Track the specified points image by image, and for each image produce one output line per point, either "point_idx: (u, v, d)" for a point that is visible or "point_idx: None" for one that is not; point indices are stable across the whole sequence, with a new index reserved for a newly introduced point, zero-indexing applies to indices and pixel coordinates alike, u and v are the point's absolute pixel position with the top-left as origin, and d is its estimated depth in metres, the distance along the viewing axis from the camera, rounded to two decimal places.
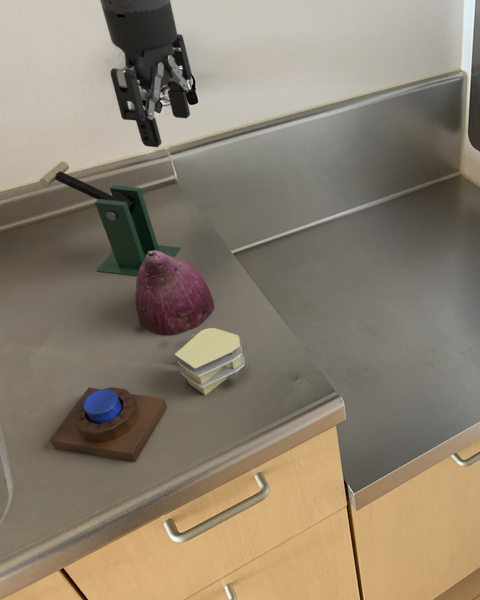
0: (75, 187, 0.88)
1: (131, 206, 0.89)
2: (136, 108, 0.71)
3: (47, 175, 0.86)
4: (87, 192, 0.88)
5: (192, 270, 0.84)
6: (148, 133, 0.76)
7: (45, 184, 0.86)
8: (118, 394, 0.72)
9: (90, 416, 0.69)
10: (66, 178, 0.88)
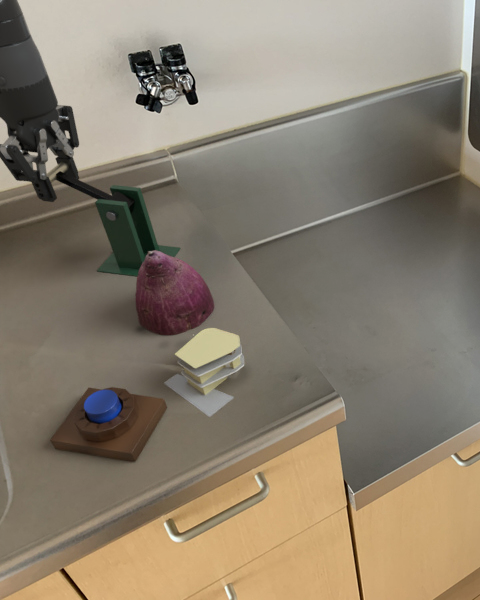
0: (75, 187, 0.88)
1: (131, 206, 0.89)
2: (25, 174, 0.81)
3: (47, 175, 0.86)
4: (87, 192, 0.88)
5: (192, 270, 0.84)
6: (42, 191, 0.85)
7: None
8: (118, 394, 0.72)
9: (90, 416, 0.69)
10: (66, 178, 0.88)
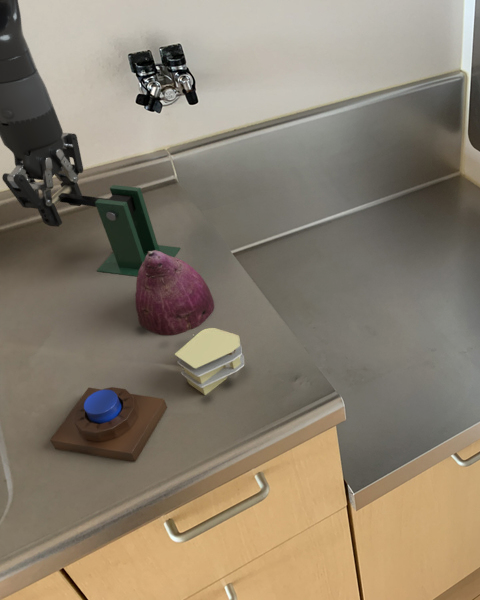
0: (77, 202, 0.90)
1: (129, 202, 0.89)
2: (32, 202, 0.84)
3: None
4: (88, 203, 0.90)
5: (192, 270, 0.84)
6: (48, 216, 0.88)
7: None
8: (118, 394, 0.72)
9: (90, 416, 0.69)
10: (67, 196, 0.90)
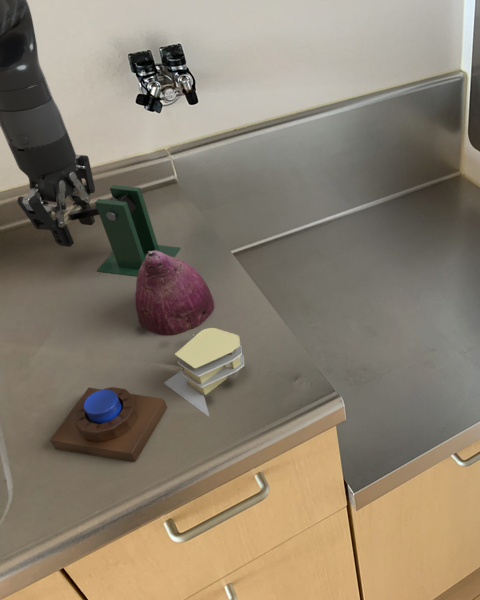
0: (84, 214, 0.91)
1: (126, 200, 0.89)
2: (45, 224, 0.86)
3: None
4: (94, 213, 0.91)
5: (192, 270, 0.84)
6: (60, 237, 0.90)
7: None
8: (118, 394, 0.72)
9: (90, 416, 0.69)
10: (75, 212, 0.92)
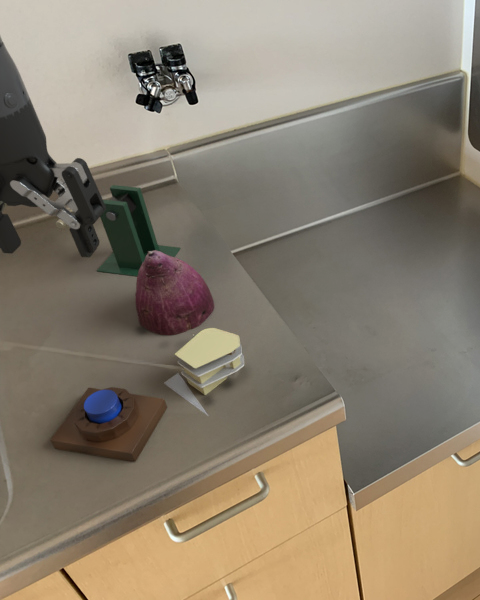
0: None
1: (126, 200, 0.89)
2: None
3: None
4: None
5: (192, 270, 0.84)
6: None
7: (61, 226, 0.91)
8: (118, 394, 0.72)
9: (90, 416, 0.69)
10: None
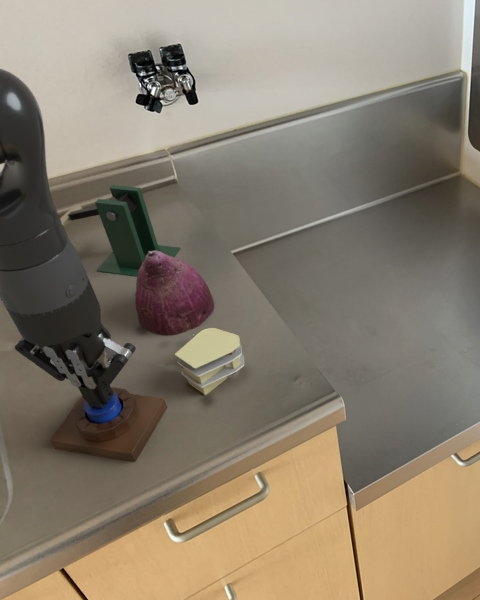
0: (84, 214, 0.91)
1: (126, 200, 0.89)
2: (48, 371, 0.66)
3: (60, 218, 0.91)
4: (94, 213, 0.91)
5: (192, 270, 0.84)
6: None
7: None
8: (118, 394, 0.72)
9: (90, 416, 0.69)
10: (75, 212, 0.92)
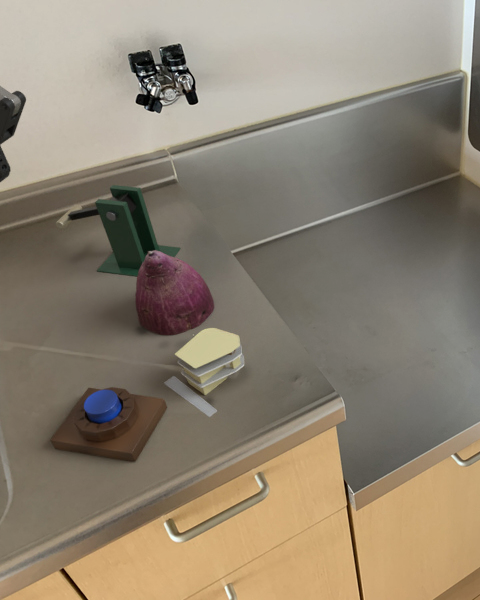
0: (84, 214, 0.91)
1: (126, 200, 0.89)
2: None
3: (60, 218, 0.91)
4: (94, 213, 0.91)
5: (192, 270, 0.84)
6: None
7: (61, 226, 0.91)
8: (118, 394, 0.72)
9: (90, 416, 0.69)
10: (75, 212, 0.92)
